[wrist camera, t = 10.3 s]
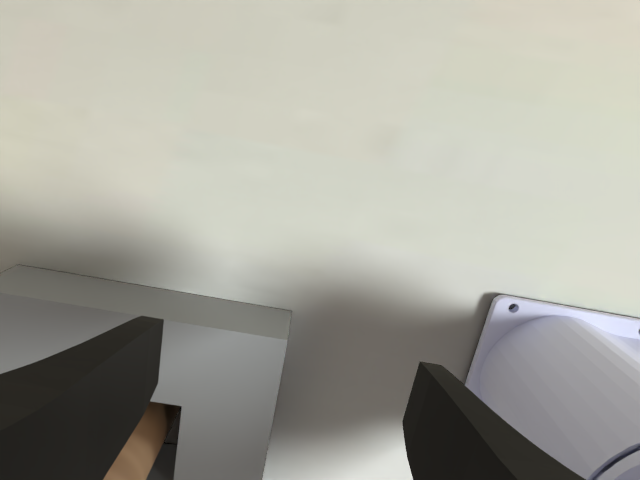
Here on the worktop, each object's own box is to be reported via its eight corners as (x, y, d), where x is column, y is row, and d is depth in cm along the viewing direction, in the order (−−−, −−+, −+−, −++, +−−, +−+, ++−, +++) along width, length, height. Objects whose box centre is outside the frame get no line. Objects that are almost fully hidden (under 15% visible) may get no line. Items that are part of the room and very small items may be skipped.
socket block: (292, 311, 22) (288, 340, 19) (254, 515, 26) (245, 565, 23) (18, 264, 21) (-30, 287, 18) (21, 482, 25) (-18, 530, 22)
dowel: (184, 378, 23) (117, 508, 15) (175, 431, 24) (109, 578, 16) (118, 365, 23) (17, 490, 15) (112, 419, 24) (15, 563, 16)
